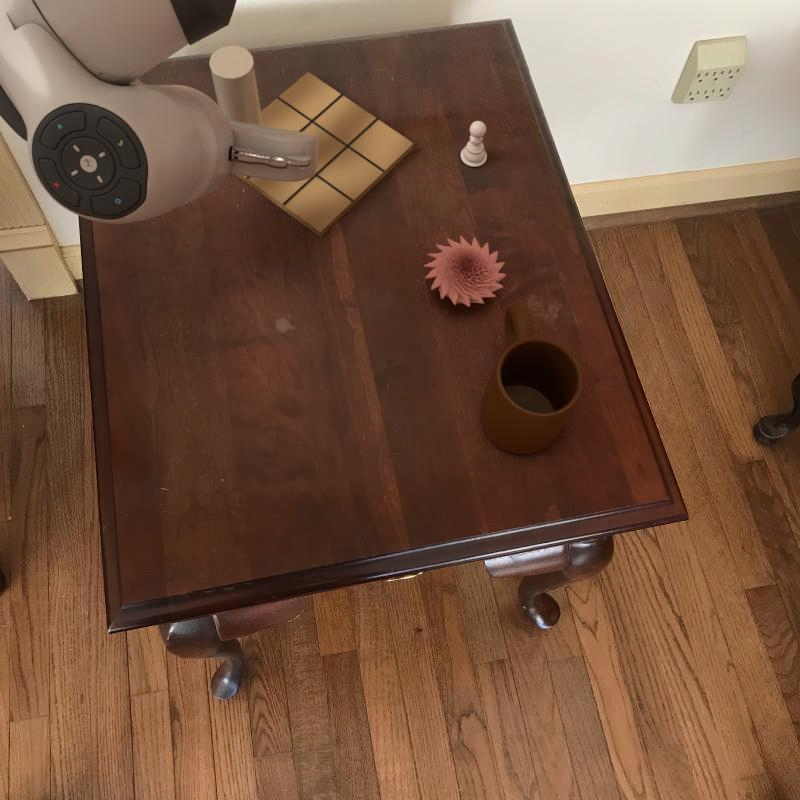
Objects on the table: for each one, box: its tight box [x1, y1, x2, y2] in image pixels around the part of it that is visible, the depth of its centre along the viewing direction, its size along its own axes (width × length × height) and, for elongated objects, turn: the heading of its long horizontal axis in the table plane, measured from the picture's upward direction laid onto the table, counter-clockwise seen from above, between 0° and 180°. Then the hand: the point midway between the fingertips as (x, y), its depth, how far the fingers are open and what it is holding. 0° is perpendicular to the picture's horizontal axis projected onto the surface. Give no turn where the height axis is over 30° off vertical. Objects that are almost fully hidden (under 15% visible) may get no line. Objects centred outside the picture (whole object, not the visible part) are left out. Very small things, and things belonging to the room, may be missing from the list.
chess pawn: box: [460, 120, 488, 168], centre depth 87 cm, size 3×3×5 cm
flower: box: [423, 235, 507, 308], centre depth 80 cm, size 8×8×6 cm
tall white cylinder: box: [208, 45, 263, 126], centre depth 82 cm, size 4×4×12 cm
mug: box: [480, 301, 584, 455], centre depth 74 cm, size 12×8×9 cm, turn 10°
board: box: [234, 71, 414, 238], centre depth 88 cm, size 15×15×1 cm
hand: (222, 134), depth 78 cm, fingers open, 8 cm apart
